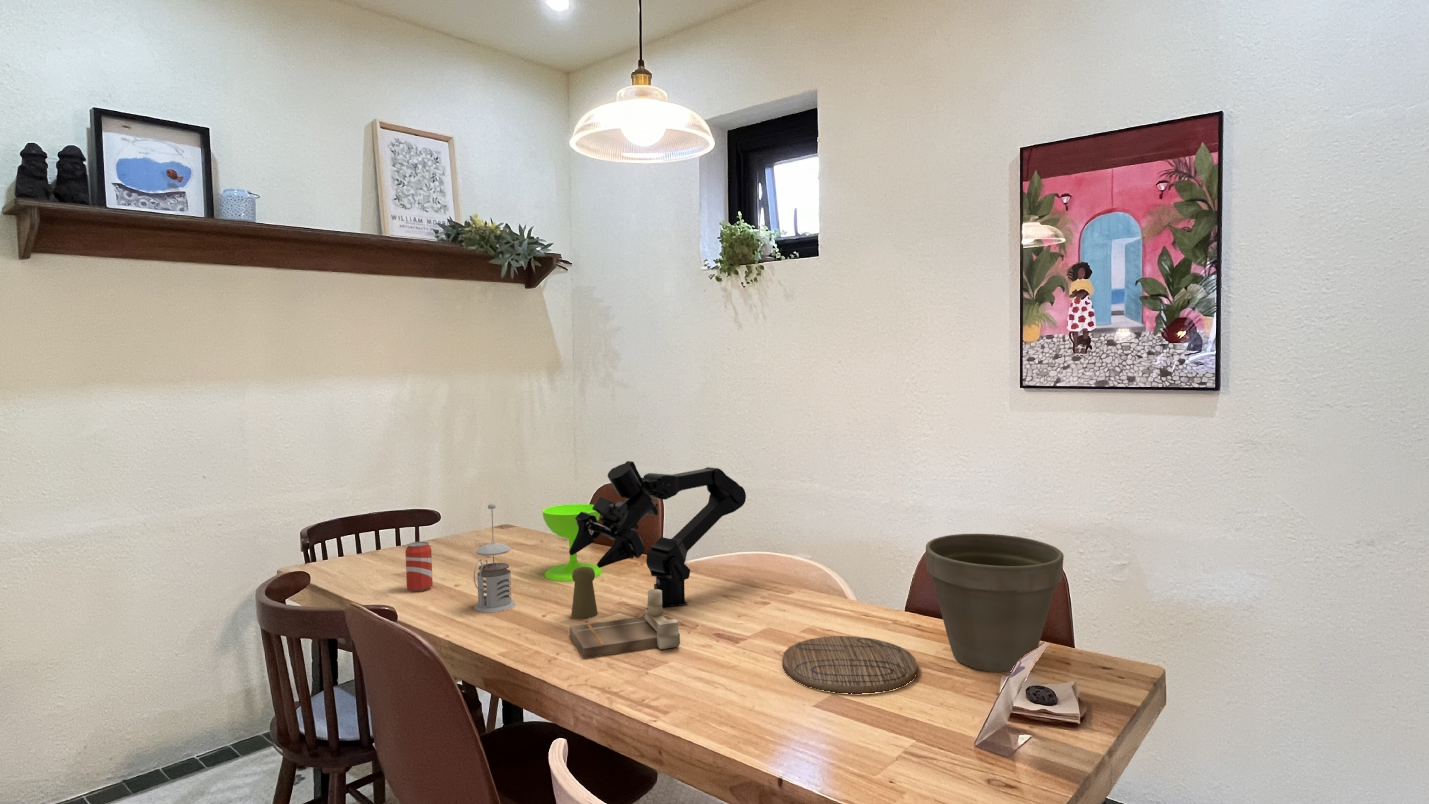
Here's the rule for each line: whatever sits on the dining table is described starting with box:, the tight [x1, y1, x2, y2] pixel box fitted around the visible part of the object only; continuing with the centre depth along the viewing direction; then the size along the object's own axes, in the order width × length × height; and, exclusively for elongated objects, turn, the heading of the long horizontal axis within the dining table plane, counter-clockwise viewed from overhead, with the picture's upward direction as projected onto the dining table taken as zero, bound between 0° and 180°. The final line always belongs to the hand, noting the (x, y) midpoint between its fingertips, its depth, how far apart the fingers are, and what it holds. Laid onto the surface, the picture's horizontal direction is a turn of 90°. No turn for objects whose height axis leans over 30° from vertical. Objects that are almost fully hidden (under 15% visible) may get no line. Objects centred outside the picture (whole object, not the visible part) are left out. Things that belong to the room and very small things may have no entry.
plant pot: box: [925, 533, 1065, 674], centre depth 150 cm, size 25×25×22 cm
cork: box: [571, 567, 599, 620], centre depth 182 cm, size 6×6×11 cm
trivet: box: [781, 635, 918, 694], centre depth 148 cm, size 25×25×2 cm
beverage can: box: [404, 541, 434, 593], centre depth 205 cm, size 6×6×12 cm
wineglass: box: [541, 503, 604, 582], centre depth 218 cm, size 16×16×18 cm
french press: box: [473, 502, 517, 613], centre depth 188 cm, size 10×12×25 cm
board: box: [569, 615, 681, 659], centre depth 165 cm, size 20×14×2 cm
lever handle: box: [644, 588, 680, 650], centre depth 165 cm, size 4×13×9 cm, turn 22°
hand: (583, 559), depth 172 cm, fingers open, 9 cm apart
